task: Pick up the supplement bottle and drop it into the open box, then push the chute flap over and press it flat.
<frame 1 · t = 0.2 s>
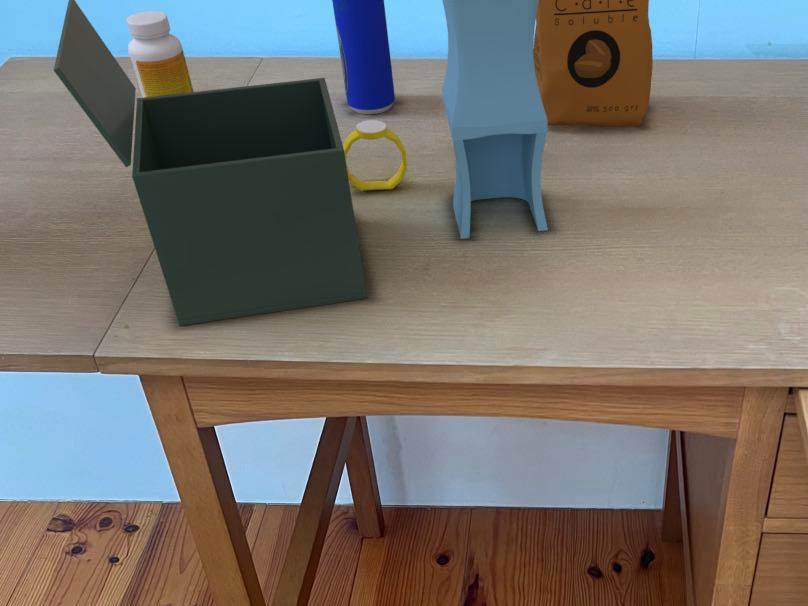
open box: (269, 268, 86), on the table
supplement bottle: (173, 115, 109), on the table
chute flap: (98, 80, 73), point 17 cm above the table, hinge at 110.0°
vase: (498, 215, 92), on the table
beverage can: (372, 107, 109), on the table
watch: (378, 189, 96), on the table
coffee package: (589, 117, 107), on the table
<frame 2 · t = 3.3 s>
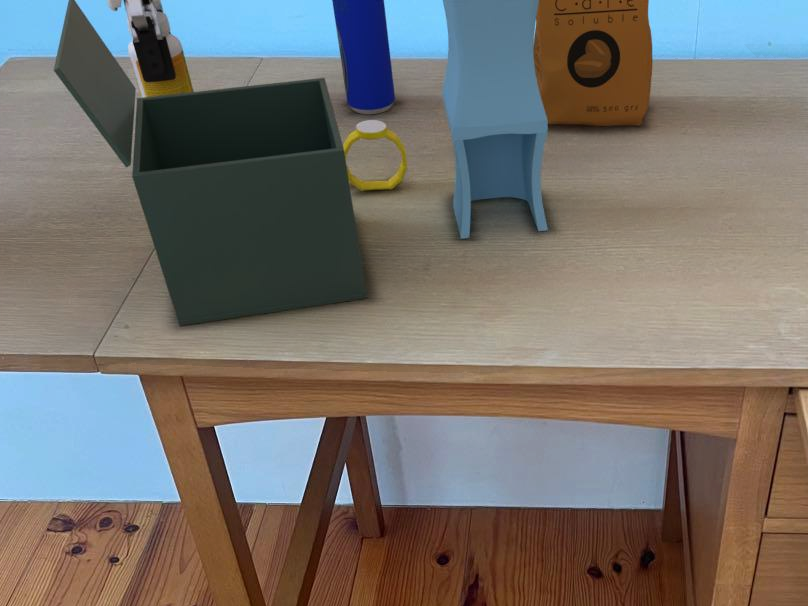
hand: (160, 66, 105), 5 cm above the table, tool pointing down, fingers closed on supplement bottle, 5 cm apart
supplement bottle: (173, 115, 109), on the table, touching gripper
everything else where it was.
when the fingers open (15 cm above the table, at t = 10.0 s): supplement bottle drops 10 cm, resting on open box.
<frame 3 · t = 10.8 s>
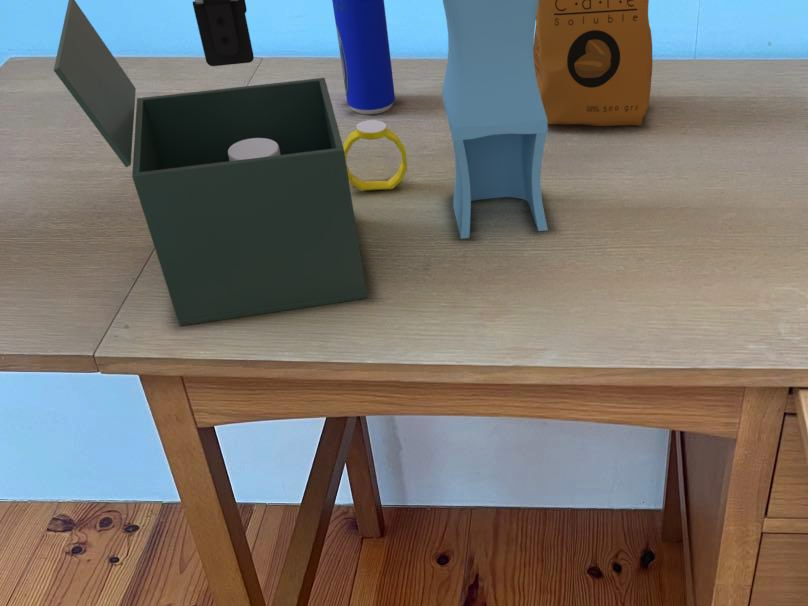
hand: (228, 37, 73), 19 cm above the table, tool pointing down, fingers open, 9 cm apart
supplement bottle: (278, 260, 86), resting on open box
everything else where it was.
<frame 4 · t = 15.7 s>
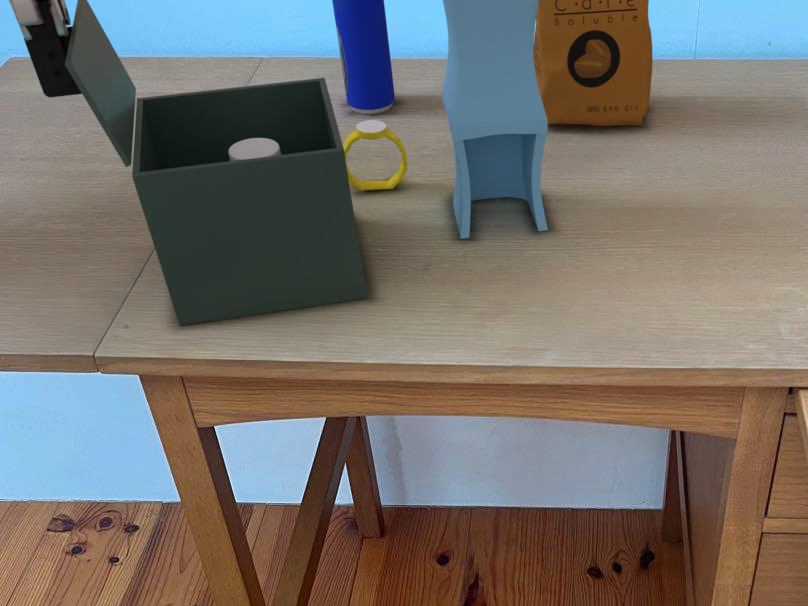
hand: (69, 90, 73), 16 cm above the table, tool pointing down, fingers closed
chute flap: (104, 78, 73), point 17 cm above the table, hinge at 103.5°
everything else where it was.
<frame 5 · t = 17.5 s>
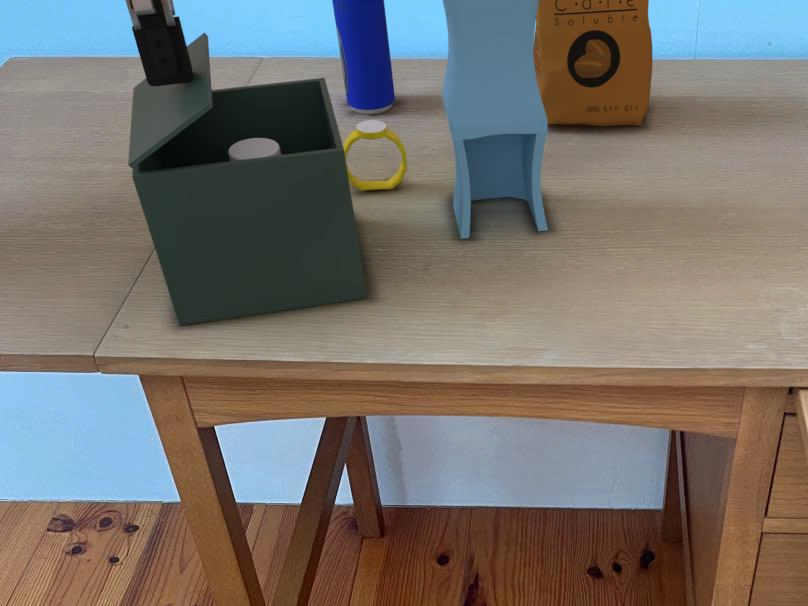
hand: (171, 79, 74), 16 cm above the table, tool pointing down, fingers closed
chute flap: (170, 97, 75), point 15 cm above the table, hinge at 29.0°
everything else where it was.
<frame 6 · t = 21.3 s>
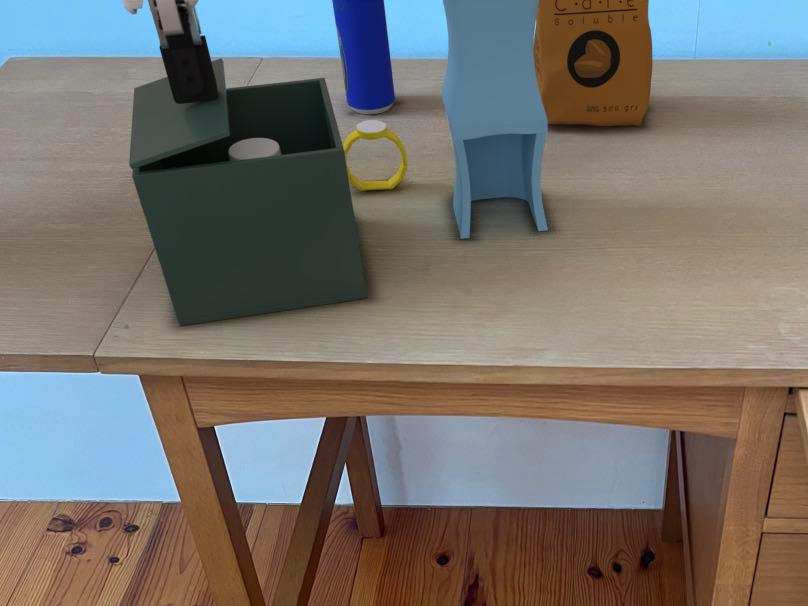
hand: (197, 97, 75), 15 cm above the table, tool pointing down, fingers closed
chute flap: (179, 110, 75), point 14 cm above the table, hinge at 12.1°, touching gripper
everything else where it was.
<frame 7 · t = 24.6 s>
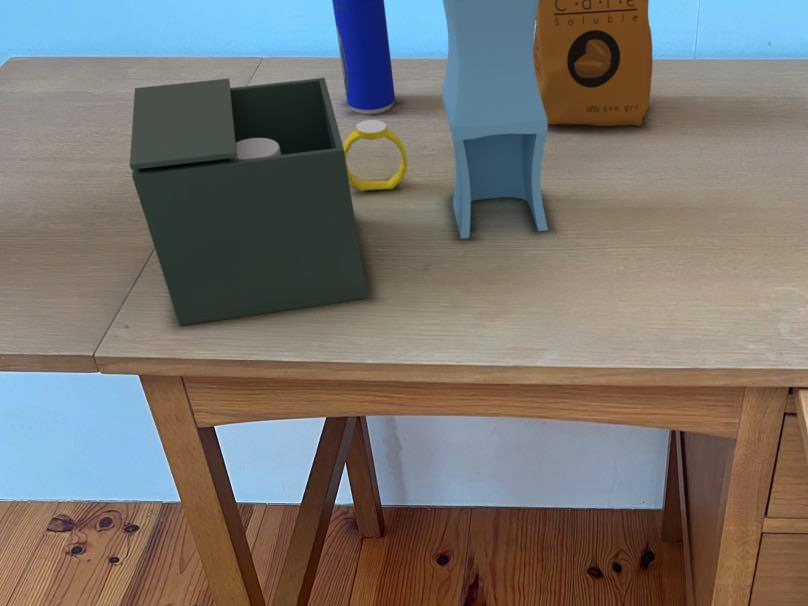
chute flap: (183, 121, 76), point 13 cm above the table, hinge at -0.3°
everything else where it was.
at the end: supplement bottle inside the target area in the open box (1.0 cm from its centre), point 0.3 cm above the open box's base; chute flap at +0° (first picture: +110°); the gripper is holding nothing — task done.
